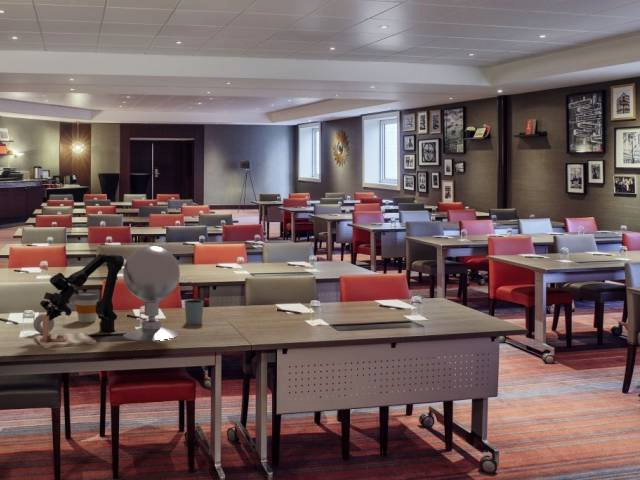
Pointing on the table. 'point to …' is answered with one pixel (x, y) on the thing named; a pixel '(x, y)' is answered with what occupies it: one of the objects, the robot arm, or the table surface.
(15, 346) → the table surface
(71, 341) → the board
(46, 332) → the pink l-shaped piece
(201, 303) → the grey-green tapered cup
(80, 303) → the reusable coffee cup
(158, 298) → the desk lamp
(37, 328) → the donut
